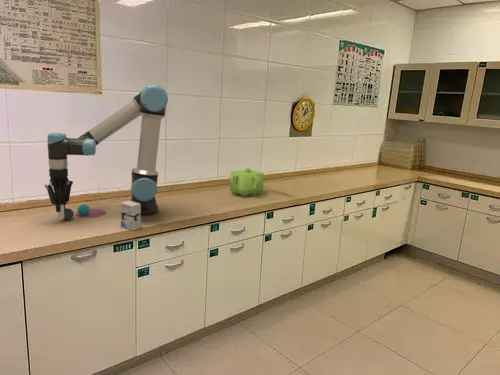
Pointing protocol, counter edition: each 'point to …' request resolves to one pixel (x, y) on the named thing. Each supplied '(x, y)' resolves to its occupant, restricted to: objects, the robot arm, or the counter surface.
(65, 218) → the black ball
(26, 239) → the counter surface
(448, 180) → the counter surface
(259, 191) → the green ribbed block
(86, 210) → the teal ball
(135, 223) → the ink box
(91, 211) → the plum mark
